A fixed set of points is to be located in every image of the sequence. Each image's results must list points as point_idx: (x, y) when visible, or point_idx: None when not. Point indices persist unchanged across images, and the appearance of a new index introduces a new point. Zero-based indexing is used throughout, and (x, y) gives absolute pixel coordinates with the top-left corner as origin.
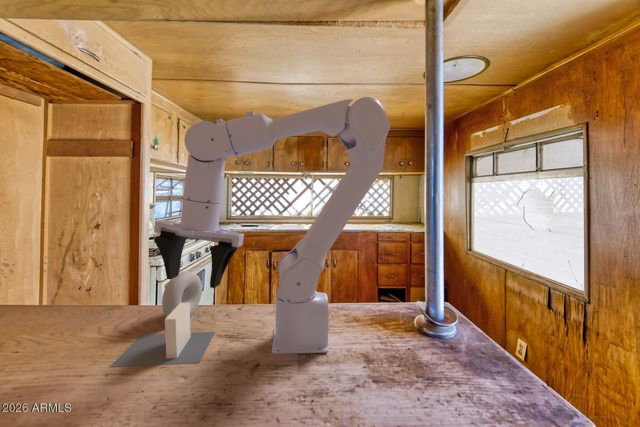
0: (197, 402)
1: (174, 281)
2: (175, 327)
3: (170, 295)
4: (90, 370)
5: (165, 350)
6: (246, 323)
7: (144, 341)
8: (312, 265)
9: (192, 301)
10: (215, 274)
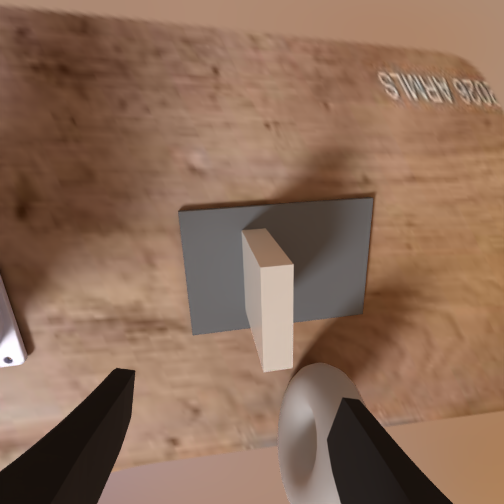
0: (122, 79)
1: None
2: (256, 257)
3: None
4: (405, 195)
5: None
6: None
7: (344, 288)
8: None
9: (291, 430)
10: (67, 420)
